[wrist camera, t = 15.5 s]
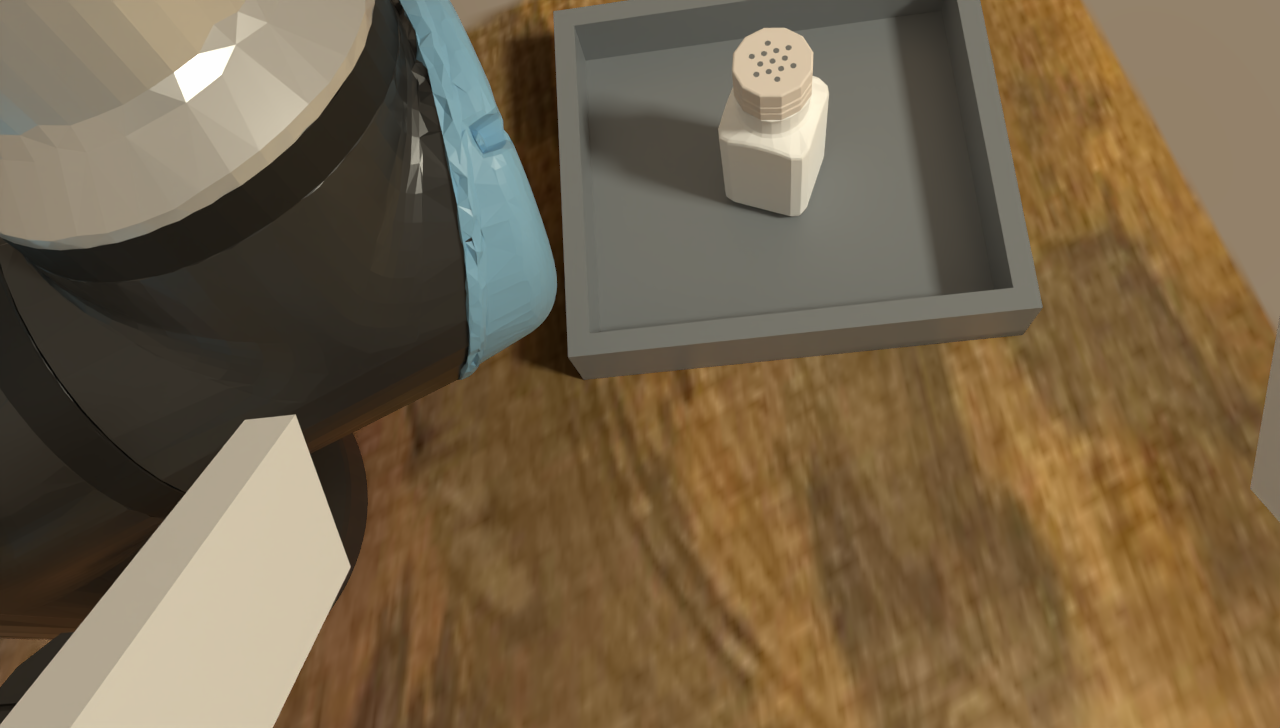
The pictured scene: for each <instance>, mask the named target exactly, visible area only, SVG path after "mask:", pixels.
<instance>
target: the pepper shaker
mask: <svg viewBox="0 0 1280 728" xmlns="http://www.w3.org/2000/svg"><path fill="white" fill-rule="evenodd" d="M732 79H733V88H732V90H731V93H730V95H729V98H728V100H727V103H726V106H725V109H724V112H723V115H722V118H721V122H720V125H719V128H718V133H719V143H720V151H721V159H722V167H723V176H724V184H725V192H726V196H727V197H728V198H729V199H731V200H732V201H734V202H737V203H741V204H745V205H749V206H752V207H756V208H760V209H764V210H768V211H772V212H776V213H780V214H783V215H787V216H791V217H792V216H800V215H801V213H802V212H803V211H804V210H805V209H806V208H807V205H808V202H809V199H810V196H811V193H812V190H813V187H814V184H815V181H816V178H817V176H818V173H819V170H820V167H821V164H822V161H823V158H824V150H825V138H826V125H827V113H828V100H829V91H828V86H827V85H826V84H825V83H824V82H823V81H822V80H821V79H820V78H818V77H815V76H813V51H812V50H811V48H810V47H809V45H808V43H807V42H806V40H805V39H804V37H803V36H801V35H799V34H797V33H795V32H793V31H791V30H789V29H787V28H763V29H761V30H759V31H757V32H755V33H753V34H751V35H749V36H746V37H745V38H744V39H743V41H742V42H741V43H740V45H739V46H738V48H737V49H736V50H735V52H734V53H733V63H732Z"/></svg>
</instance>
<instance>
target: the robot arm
mask: <svg viewBox="0 0 1280 728" xmlns="http://www.w3.org/2000/svg"><path fill="white" fill-rule="evenodd" d="M556 292H557V275H556V269H555V264H554V259H553V255H552V251H551V247H550V244H549V240H548V237H547V234H546V231H545V228H544V225H543V221H542V218H541V216H540V213H539V210H538V207H537V204H536V201H535V198H534V195H533V193H532V190H531V187H530V184H529V182H528V179H527V176H526V174H525V171H524V169H523V166H522V164H521V161H520V159H519V156H518V154H517V151H516V149H515V146H514V144H513V143H512V141H511V139H510V137H509V135H508V134H507V133H506V132H505V130H504V129H503V119H502V117H501V114H500V112H499V110H498V108H497V105H496V103H495V100H494V97H493V93H492V90H491V87H490V84H489V82H488V80H487V77H486V75H485V73H484V70H483V68H482V66H481V64H480V62H479V59H478V57H477V55H476V53H475V50H474V48H473V46H472V44H471V42H470V40H469V37H468V35H467V33H466V31H465V29H464V27H463V25H462V23H461V21H460V19H459V17H458V15H457V13H456V11H455V9H454V7H453V5H452V4H451V2H450V0H0V638H7V639H53V640H52V641H50V642H49V643H48V644H46V645H45V646H44V647H43V648H41V649H40V650H39V651H37V652H36V653H35V654H34V655H32V656H31V657H30V658H28V659H27V660H26V661H25V662H23V663H22V664H21V665H19V666H18V667H17V668H16V669H15V671H14V672H13V673H12V674H11V675H10V676H9V678H8V679H7V680H6V681H5V682H4V684H3V685H2V686H1V687H0V728H273V726H274V724H275V722H276V720H277V718H278V716H279V713H280V711H281V709H282V707H283V705H284V703H285V701H286V699H287V697H288V695H289V693H290V691H291V689H292V687H293V685H294V683H295V681H296V679H297V676H298V674H299V672H300V670H301V668H302V666H303V664H304V662H305V660H306V658H307V656H308V654H309V652H310V650H311V648H312V646H313V644H314V642H315V639H316V637H317V635H318V633H319V631H320V629H321V627H322V625H323V623H324V621H325V619H326V617H327V615H328V613H329V611H330V610H331V608H332V607H333V606H334V604H335V603H336V601H337V600H338V598H339V596H340V595H341V593H342V591H343V590H344V588H345V586H346V584H347V582H348V580H349V578H350V576H351V573H352V571H353V569H354V566H355V564H356V561H357V558H358V555H359V552H360V549H361V545H362V541H363V537H364V532H365V526H366V518H367V505H368V498H367V481H366V474H365V468H364V464H363V460H362V456H361V453H360V450H359V447H358V445H357V442H356V440H355V437H354V435H353V432H355V431H357V430H359V429H361V428H363V427H364V426H366V425H368V424H370V423H372V422H374V421H376V420H378V419H380V418H382V417H384V416H386V415H388V414H390V413H392V412H394V411H396V410H398V409H400V408H402V407H404V406H406V405H408V404H410V403H412V402H414V401H416V400H418V399H420V398H422V397H424V396H426V395H428V394H430V393H432V392H434V391H436V390H438V389H440V388H442V387H444V386H446V385H448V384H450V383H452V382H454V381H456V380H459V379H460V380H462V379H464V378H466V377H469V376H470V375H471V374H472V373H474V372H475V370H476V369H477V368H478V366H479V364H480V363H482V362H483V361H485V360H487V359H488V358H490V357H492V356H493V355H495V354H497V353H498V352H500V351H502V350H503V349H505V348H506V347H508V346H510V345H511V344H513V343H515V342H516V341H518V340H520V339H521V338H523V337H525V336H526V335H528V334H530V333H531V332H533V331H534V330H535V329H536V328H537V327H539V326H540V325H541V324H542V323H543V322H544V320H545V319H546V318H547V316H548V315H549V313H550V311H551V309H552V307H553V304H554V301H555V296H556ZM1250 489H1251V490H1252V491H1253V492H1254V493H1255V494H1256V496H1257V497H1258V498H1259V499H1260V500H1261V501H1262V502H1263V504H1264V505H1265V506H1266V507H1267V508H1268V509H1269V510H1270V512H1271V513H1272V514H1273V515H1274V516H1275V517H1276V518H1277V520H1278V521H1279V522H1280V318H1279V323H1278V329H1277V335H1276V341H1275V347H1274V353H1273V359H1272V365H1271V370H1270V376H1269V382H1268V388H1267V394H1266V400H1265V406H1264V412H1263V418H1262V423H1261V429H1260V435H1259V441H1258V447H1257V453H1256V459H1255V465H1254V470H1253V476H1252V482H1251V488H1250Z"/></svg>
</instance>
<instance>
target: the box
mask: <svg viewBox="0 0 1280 728" xmlns="http://www.w3.org/2000/svg"><path fill="white" fill-rule="evenodd" d="M553 13H554V36H555V60H556V83H557V107H558V130H559V154H560V177H561V201H562V225H563V248H564V272H565V295H566V319H567V342H568V358H569V359H570V361H571V362H572V364H573V365H574V366H575V368H576V369H577V371H578V372H579V374H580V375H581V376H582V378H583V379H584V380H585V379H595V378H605V377H615V376H625V375H634V374H644V373H654V372H664V371H673V370H683V369H693V368H703V367H713V366H722V365H732V364H742V363H752V362H761V361H771V360H781V359H791V358H801V357H810V356H820V355H830V354H840V353H849V352H859V351H869V350H879V349H889V348H898V347H908V346H918V345H928V344H937V343H947V342H957V341H967V340H977V339H986V338H996V337H1006V336H1016V335H1023V334H1024V332H1025V331H1026V330H1027V328H1028V327H1029V326H1030V324H1031V323H1032V321H1033V320H1034V319H1035V317H1036V316H1037V315H1038V313H1039V312H1040V310H1041V309H1042V308H1043V306H1042V302H1041V297H1040V292H1039V287H1038V282H1037V277H1036V272H1035V267H1034V262H1033V257H1032V253H1031V248H1030V243H1029V238H1028V233H1027V228H1026V223H1025V218H1024V213H1023V208H1022V203H1021V199H1020V194H1019V189H1018V184H1017V179H1016V174H1015V169H1014V164H1013V159H1012V154H1011V150H1010V145H1009V140H1008V135H1007V130H1006V125H1005V120H1004V115H1003V110H1002V105H1001V100H1000V96H999V91H998V86H997V81H996V76H995V71H994V66H993V61H992V56H991V51H990V47H989V42H988V37H987V32H986V27H985V22H984V17H983V12H982V7H981V2H980V0H628V1H621V2H614V3H607V4H601V5H594V6H587V7H580V8H574V9H567V10H560V11H553ZM763 28H787V29H789V30H791V31H793V32H795V33H797V34H799V35H801V36H803V37H804V39H805V40H806V42H807V43H808V45H809V47H810V48H811V50H812V51H813V76H815V77H818V78H820V79H821V80H822V81H823V82H824V83H825V84H826V85H827V86H828V91H829V100H828V113H827V125H826V138H825V150H824V158H823V161H822V164H821V167H820V170H819V173H818V176H817V178H816V181H815V184H814V187H813V190H812V193H811V196H810V199H809V202H808V205H807V208H806V209H805V210H804V211H803V212H802V213H801V215H800V216H792V217H791V216H787V215H783V214H780V213H776V212H772V211H768V210H764V209H760V208H756V207H752V206H749V205H745V204H741V203H737V202H734V201H732V200H731V199H729V198H728V197H727V196H726V192H725V184H724V176H723V167H722V159H721V151H720V143H719V133H718V128H719V125H720V122H721V118H722V115H723V112H724V109H725V106H726V103H727V100H728V98H729V95H730V93H731V90H732V88H733V79H732V63H733V53H734V52H735V50H736V49H737V48H738V46H739V45H740V43H741V42H742V41H743V39H744V38H745V37H746V36H749V35H751V34H753V33H755V32H757V31H759V30H761V29H763Z"/></svg>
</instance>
